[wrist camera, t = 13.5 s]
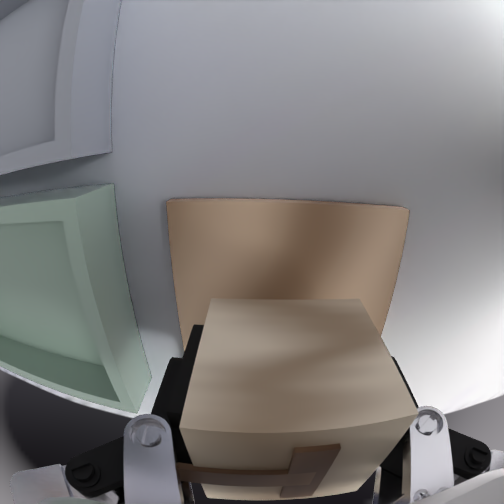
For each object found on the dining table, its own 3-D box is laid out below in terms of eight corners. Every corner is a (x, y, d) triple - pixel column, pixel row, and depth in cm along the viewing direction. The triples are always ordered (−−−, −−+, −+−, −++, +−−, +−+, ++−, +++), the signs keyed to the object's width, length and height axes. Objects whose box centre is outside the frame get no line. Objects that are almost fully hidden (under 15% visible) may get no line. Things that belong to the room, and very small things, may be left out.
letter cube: (359, 298, 9) (421, 418, 4) (333, 393, 11) (356, 494, 6) (193, 297, 9) (148, 428, 4) (206, 393, 11) (188, 498, 6)
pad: (403, 206, 11) (409, 210, 10) (361, 374, 15) (364, 381, 14) (170, 198, 11) (166, 201, 11) (192, 374, 15) (189, 381, 15)
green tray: (113, 183, 11) (75, 198, 8) (151, 377, 16) (137, 413, 13) (-45, 207, 12) (-71, 219, 9) (-5, 334, 16) (-23, 353, 13)
